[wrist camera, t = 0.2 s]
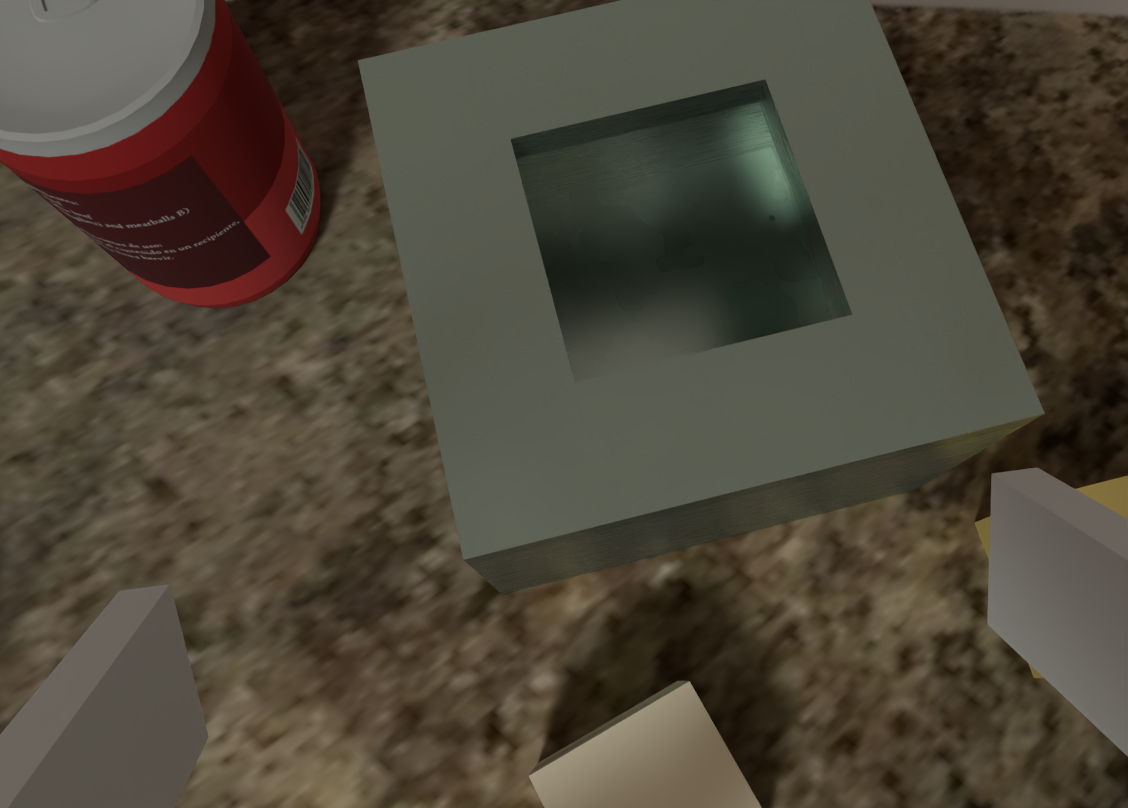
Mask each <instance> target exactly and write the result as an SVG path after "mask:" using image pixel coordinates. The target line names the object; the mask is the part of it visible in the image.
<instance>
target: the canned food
mask: <svg viewBox="0 0 1128 808" xmlns="http://www.w3.org/2000/svg"><path fill="white" fill-rule="evenodd" d="M0 161H1V162H2V163H3V164H4V165H5V166H7V167H8V168H9V169H10V170H11V171H12V172H14V173H15V174H16V175H17V176H18V177H19V178H21V179H22V180H23V181H24V182H25V183H27V184H28V185H29V186H30V187H31V188H32V189H34V190H35V191H36V192H37V193H38V194H39V195H41V196H42V197H43V198H44V199H45V200H46V201H48V202H49V203H50V204H51V205H52V206H53V207H55V208H56V209H57V210H58V211H59V212H60V213H62V214H63V215H64V216H65V217H66V218H67V219H69V220H70V221H71V222H72V223H73V224H74V225H76V226H77V227H78V228H79V229H80V230H81V231H83V232H84V233H85V234H86V235H87V236H88V237H90V238H91V239H92V240H93V241H94V242H95V243H97V244H98V245H99V246H100V247H101V248H102V249H104V250H105V251H106V252H107V253H108V254H109V255H111V256H112V257H113V258H114V259H115V260H116V261H118V262H119V263H120V264H121V265H122V266H123V267H125V268H126V269H127V270H128V271H129V272H131V273H132V274H133V275H134V276H135V277H136V278H138V279H139V280H140V281H141V282H142V283H143V284H145V285H146V286H147V287H148V288H149V289H151V290H153V291H155V292H157V293H158V294H160V295H162V296H164V297H166V298H169V299H172V300H175V301H179V302H182V303H185V304H189V305H193V306H198V307H208V308H223V307H234V306H238V305H242V304H245V303H249V302H252V301H255V300H257V299H259V298H261V297H263V296H265V295H267V294H269V293H271V292H273V291H274V290H275V289H277V288H278V287H280V286H281V285H282V284H284V283H285V282H286V281H288V280H289V278H290V277H291V276H292V275H293V274H294V273H295V272H296V271H297V270H298V269H299V268H300V267H301V265H302V264H303V262H304V261H305V259H306V257H307V256H308V254H309V253H310V251H311V249H312V246H313V244H314V241H315V239H316V236H317V234H318V228H319V223H320V217H321V203H320V185H319V181H318V177H317V173H316V169H315V167H314V165H313V163H312V161H311V159H310V157H309V155H308V153H307V151H306V149H305V147H304V146H303V144H302V142H301V140H300V138H299V136H298V135H297V133H296V131H295V129H294V127H293V125H292V123H291V122H290V120H289V118H288V116H287V114H286V112H285V111H284V109H283V107H282V105H281V103H280V101H279V100H278V98H277V96H276V94H275V92H274V90H273V88H272V87H271V85H270V83H269V81H268V79H267V77H266V76H265V74H264V72H263V70H262V68H261V66H260V64H259V63H258V61H257V59H256V57H255V55H254V53H253V52H252V50H251V48H250V46H249V44H248V42H247V41H246V39H245V37H244V35H243V33H242V31H241V29H240V28H239V26H238V24H237V22H236V20H235V18H234V17H233V15H232V13H231V11H230V9H229V7H228V6H227V4H226V2H225V0H0Z"/></svg>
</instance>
